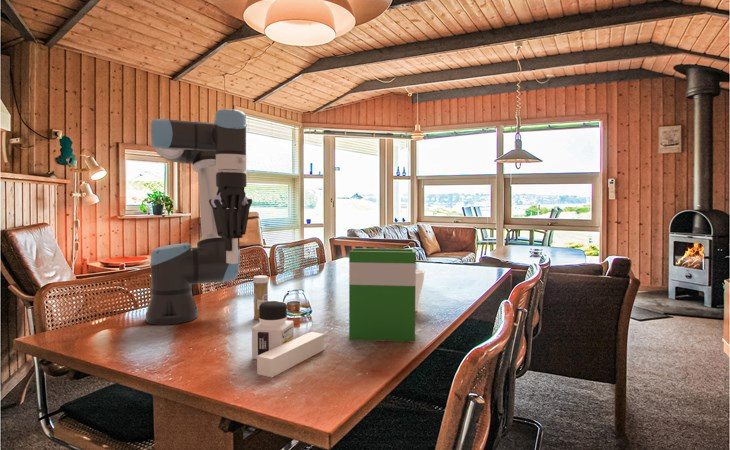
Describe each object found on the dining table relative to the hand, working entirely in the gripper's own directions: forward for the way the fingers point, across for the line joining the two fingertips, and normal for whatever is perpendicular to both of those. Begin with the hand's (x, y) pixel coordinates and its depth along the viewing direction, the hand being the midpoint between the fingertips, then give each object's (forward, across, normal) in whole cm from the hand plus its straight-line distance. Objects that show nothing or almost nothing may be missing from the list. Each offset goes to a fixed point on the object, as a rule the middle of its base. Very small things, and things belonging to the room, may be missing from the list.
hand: (232, 263), depth 116 cm
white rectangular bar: (+21, -3, -22) cm, 31 cm away
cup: (+22, +54, -26) cm, 64 cm away
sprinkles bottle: (+22, +22, +10) cm, 32 cm away
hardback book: (+21, +24, -32) cm, 45 cm away
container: (+21, -2, -16) cm, 26 cm away
